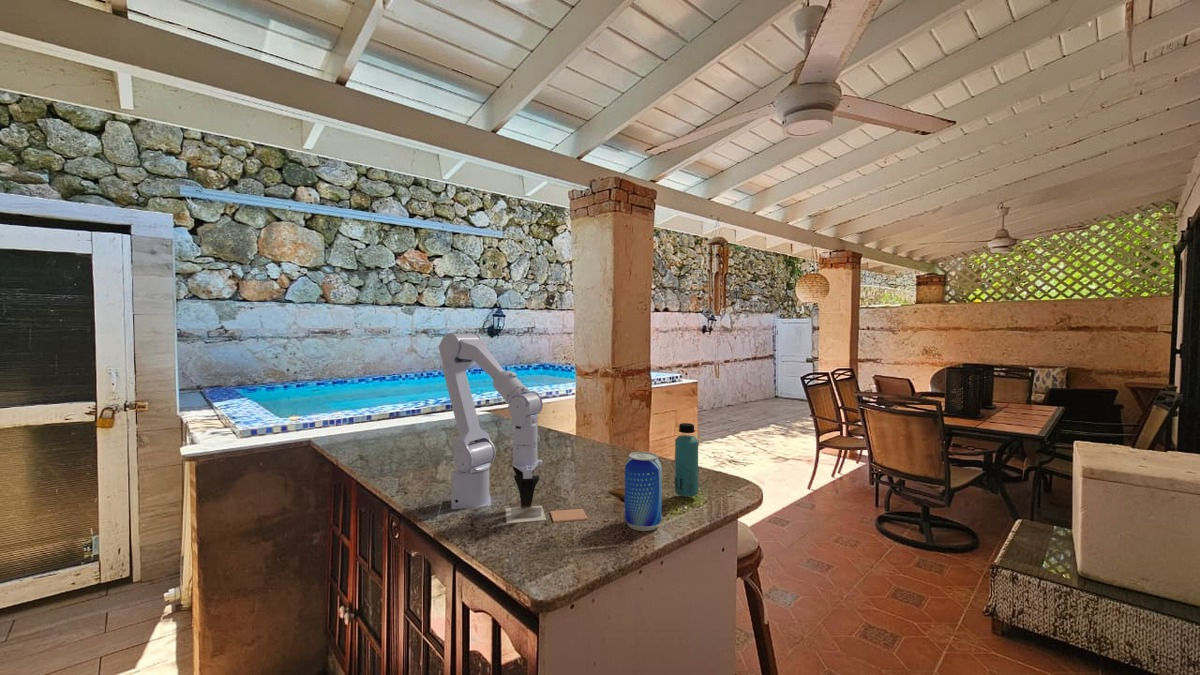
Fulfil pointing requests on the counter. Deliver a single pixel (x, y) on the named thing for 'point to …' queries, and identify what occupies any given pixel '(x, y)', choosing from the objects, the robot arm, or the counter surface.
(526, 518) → the mat
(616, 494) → the primitive tool
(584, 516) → the tile
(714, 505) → the counter surface
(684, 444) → the beverage bottle
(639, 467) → the beer can
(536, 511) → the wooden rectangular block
